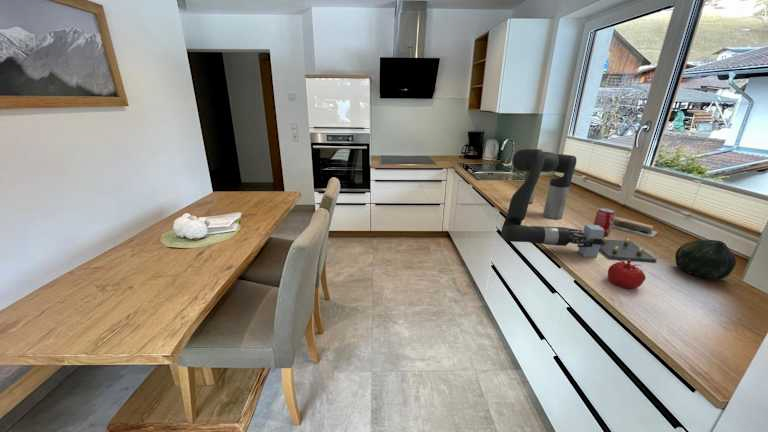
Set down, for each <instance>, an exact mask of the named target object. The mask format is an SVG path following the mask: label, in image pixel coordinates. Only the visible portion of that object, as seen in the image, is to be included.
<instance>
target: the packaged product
mask: <svg viewBox="0 0 768 432" xmlns="http://www.w3.org/2000/svg"><path fill="white" fill-rule="evenodd" d="M654 228H655V227H654V225H652V224H651V225H650V224H647V223H643V222H639V221H635V220H632V219H628V218H624V217H621V216H620V217H619V216H615V218H614V221H613V225H612V228H611V229H614V230H615V229H616V230H620V231H622V232H626V233H630V234H634V235H637V236H641V237H644V238H649V239H653V238H655V236H657V233H658V231H656V230H655V231H654V230H653V229H654Z"/></svg>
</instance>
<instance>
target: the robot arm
mask: <svg viewBox="0 0 768 432" xmlns="http://www.w3.org/2000/svg"><path fill="white" fill-rule="evenodd" d="M512 165H513V167H514V169H515V170H517V171H519V172H526V171H530V174H529V176H528V178H527V180H526V181H525V180H524V182H523V184H521V185H520V187H519V188H518V189H517V190H516V191H515V192H514V194H513V195H512V197H511V198H510V201H509V206H508V210H507V215H506V217H505V219H504V221H503V224H502V227H501V234H500V235H501V237H502V238H503V240H504V241H506V242H513V243H515V242H516V243H531V244H541V245H549V246H559V247H560V246H561V247H566V246H567V245H569V244H574V245H577V246H576V247H577V248H579V247H592V246H593V244H596V245H602V243H603V240H602V239H592V238H587V237H586V236H582V234H583V231H582V229H576V228H569V227H562V226H537V225H523V224H522V222H523V221H524V219H525V218H526V215H527V212H528V209H529V205H530V204H529V200H530V197H531V194H532V192H533V190H534V187H535V185H536V183H537V184H538V181H537V180H539V177H540V175H541V173H549V172H550V173H551V172H554V173H560V174H563V175H562V176H561V177H555V178H554V177H553V178H551V179H550V181H549V185H548V191H547V193H546V194H547V196H546V199H545V204H544V209H543V213H542V217H544V218H545V217H546V218H547V219H548V218H549V219H551V220H553V219H554V220H561V219H563V217H564V211H565V207H566V203H567V198H568V195H569V191H570V187H571V183H572V180H573V179H572V178H573V176H574V173H575V170H576V169H575V168H576V166H577V157H576V156H575V155H570V154H563V153H562V154H561V153H553V152H551V151H550V152H549V151H543V150H542V149H538V148H537V149H536V148H533V149H532V148H526V149H525V148H524V149H523V148H522V149H519V150H517V151H516V152H515V153H514V155H513V156H512ZM582 238H584V239H583V240H582Z"/></svg>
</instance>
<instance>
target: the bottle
mask: <svg viewBox="0 0 768 432" xmlns="http://www.w3.org/2000/svg"><path fill="white" fill-rule="evenodd" d="M529 174H530V171H525V178H524V182H525V181H526V180H527V178H528V176H529ZM538 180H539V179H538ZM538 180H537V183H536V185H535V187H534V190H533V192H532V194H531V197H530V200H529V204H528V205H530V204H531V205H532V204H533V203H534V199H535V193H536V189H537V185H538Z"/></svg>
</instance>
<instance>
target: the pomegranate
mask: <svg viewBox="0 0 768 432" xmlns="http://www.w3.org/2000/svg"><path fill="white" fill-rule="evenodd" d="M626 261H627V262H625V260H618V262H615V263H613V264H612V265H610V266H609V267H608V270H607V279H608V280H609V282H611V283H613V284H614V285H616V286H620V287H622V288H624V289H636V288H638V287H641V286H642V285H643V283H644V282H645V280H646V279H647V278H646V275H645V273H644V271H643V270H642V269H641V268H639V267H641V264H631V262H632V261H631V260H630V259H627V260H626ZM637 266H638V267H637Z"/></svg>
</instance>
